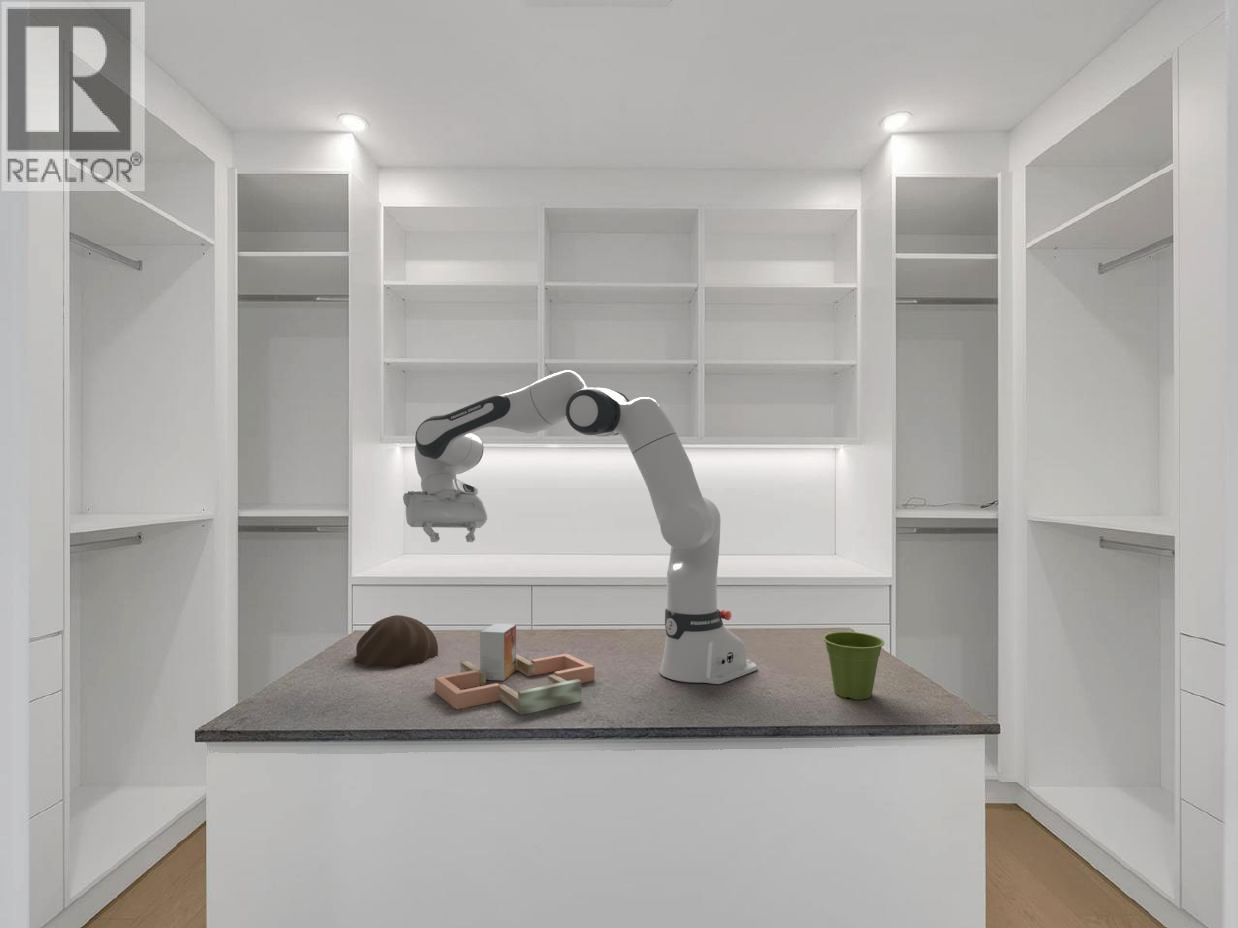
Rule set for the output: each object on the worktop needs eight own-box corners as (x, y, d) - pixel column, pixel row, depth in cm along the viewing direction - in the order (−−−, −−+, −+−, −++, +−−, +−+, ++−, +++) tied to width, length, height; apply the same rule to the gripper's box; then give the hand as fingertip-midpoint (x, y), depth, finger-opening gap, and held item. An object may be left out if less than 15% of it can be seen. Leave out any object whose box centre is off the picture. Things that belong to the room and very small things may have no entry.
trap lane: (513, 663, 163) (513, 646, 163) (581, 701, 138) (581, 680, 138) (460, 673, 156) (460, 655, 156) (521, 714, 130) (521, 693, 130)
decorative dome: (335, 662, 164) (335, 620, 164) (394, 642, 182) (394, 604, 182) (399, 673, 156) (399, 628, 156) (455, 650, 175) (455, 610, 174)
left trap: (476, 683, 148) (476, 669, 148) (500, 700, 138) (500, 685, 138) (434, 691, 143) (434, 677, 143) (456, 709, 133) (456, 693, 133)
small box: (504, 681, 150) (504, 632, 150) (479, 680, 151) (479, 631, 151) (517, 670, 158) (516, 623, 158) (493, 668, 159) (493, 622, 159)
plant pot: (810, 692, 143) (810, 637, 143) (845, 681, 150) (845, 628, 150) (861, 709, 133) (862, 650, 133) (896, 696, 141) (896, 640, 140)
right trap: (566, 666, 161) (566, 653, 160) (594, 680, 151) (594, 666, 151) (531, 673, 155) (531, 659, 155) (557, 687, 146) (557, 673, 146)
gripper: (406, 483, 166) (418, 534, 160) (482, 487, 179) (496, 534, 173) (396, 497, 170) (407, 548, 163) (471, 500, 183) (484, 547, 177)
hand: (453, 541), depth 168 cm, fingers open, 8 cm apart
